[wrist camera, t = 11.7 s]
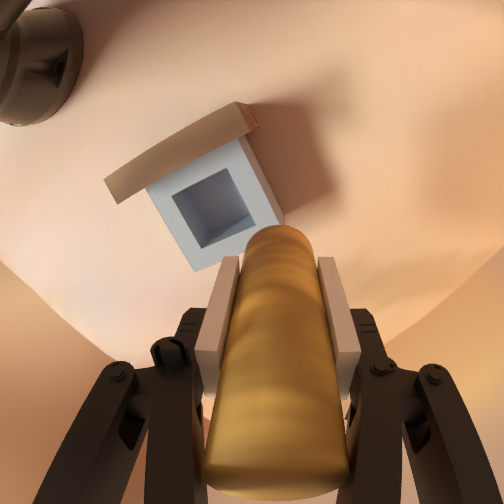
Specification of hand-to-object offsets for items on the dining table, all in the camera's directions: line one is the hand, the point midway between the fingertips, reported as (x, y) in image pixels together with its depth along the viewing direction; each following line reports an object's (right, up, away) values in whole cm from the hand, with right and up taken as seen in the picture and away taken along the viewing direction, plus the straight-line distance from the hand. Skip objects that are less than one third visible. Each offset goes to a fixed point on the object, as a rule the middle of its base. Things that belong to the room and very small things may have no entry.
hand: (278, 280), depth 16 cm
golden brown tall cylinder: (0, +1, +2) cm, 3 cm away
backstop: (-7, +12, +13) cm, 19 cm away
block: (-4, +7, +15) cm, 17 cm away
